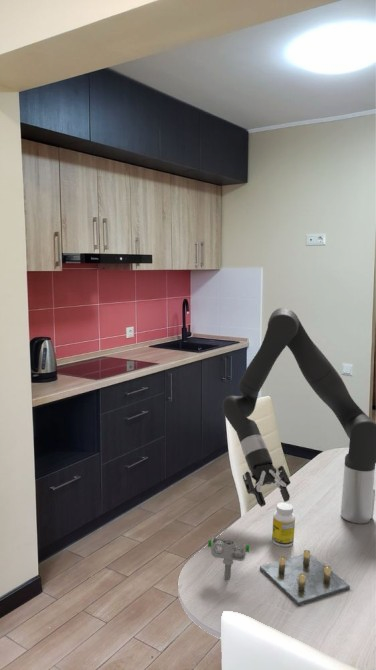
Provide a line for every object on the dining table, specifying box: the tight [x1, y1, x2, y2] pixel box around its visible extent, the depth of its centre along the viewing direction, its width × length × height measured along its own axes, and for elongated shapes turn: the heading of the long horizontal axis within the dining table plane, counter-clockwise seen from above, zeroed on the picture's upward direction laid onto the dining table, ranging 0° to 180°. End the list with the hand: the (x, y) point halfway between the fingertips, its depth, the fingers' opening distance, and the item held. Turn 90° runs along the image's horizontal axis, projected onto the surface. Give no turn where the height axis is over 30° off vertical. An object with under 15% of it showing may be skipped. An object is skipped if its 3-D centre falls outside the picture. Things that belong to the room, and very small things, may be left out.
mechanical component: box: [207, 536, 250, 582], centre depth 132 cm, size 3×10×10 cm, turn 78°
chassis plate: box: [259, 549, 351, 607], centre depth 134 cm, size 16×16×4 cm
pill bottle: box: [271, 502, 296, 548], centre depth 151 cm, size 6×6×11 cm
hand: (275, 503), depth 154 cm, fingers open, 8 cm apart
